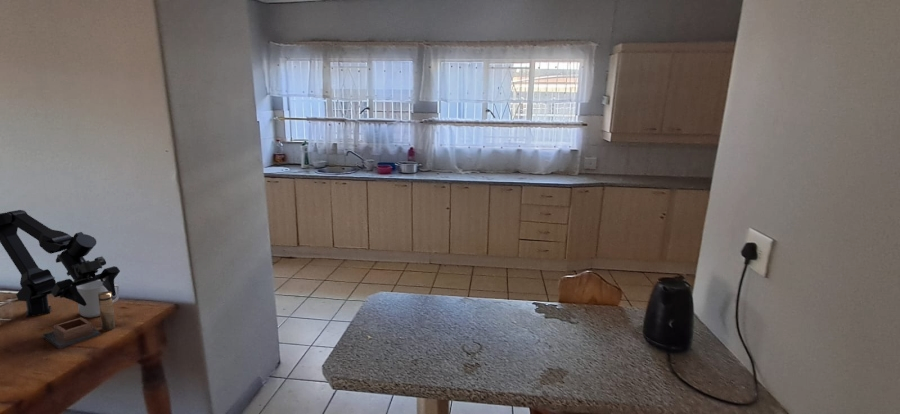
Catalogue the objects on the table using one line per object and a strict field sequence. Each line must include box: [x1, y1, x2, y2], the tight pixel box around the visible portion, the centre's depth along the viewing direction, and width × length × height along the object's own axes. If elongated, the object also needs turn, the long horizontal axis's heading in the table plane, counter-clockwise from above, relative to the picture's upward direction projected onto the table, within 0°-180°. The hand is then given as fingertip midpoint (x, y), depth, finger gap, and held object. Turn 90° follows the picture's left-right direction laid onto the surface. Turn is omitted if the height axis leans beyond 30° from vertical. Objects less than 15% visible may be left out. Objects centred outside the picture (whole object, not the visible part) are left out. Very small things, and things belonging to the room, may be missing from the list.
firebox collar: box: [42, 316, 101, 349], centre depth 143 cm, size 12×11×4 cm
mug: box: [76, 280, 120, 318], centre depth 160 cm, size 12×9×11 cm
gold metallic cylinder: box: [98, 291, 116, 332], centre depth 148 cm, size 4×4×13 cm
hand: (100, 300), depth 149 cm, fingers open, 9 cm apart
